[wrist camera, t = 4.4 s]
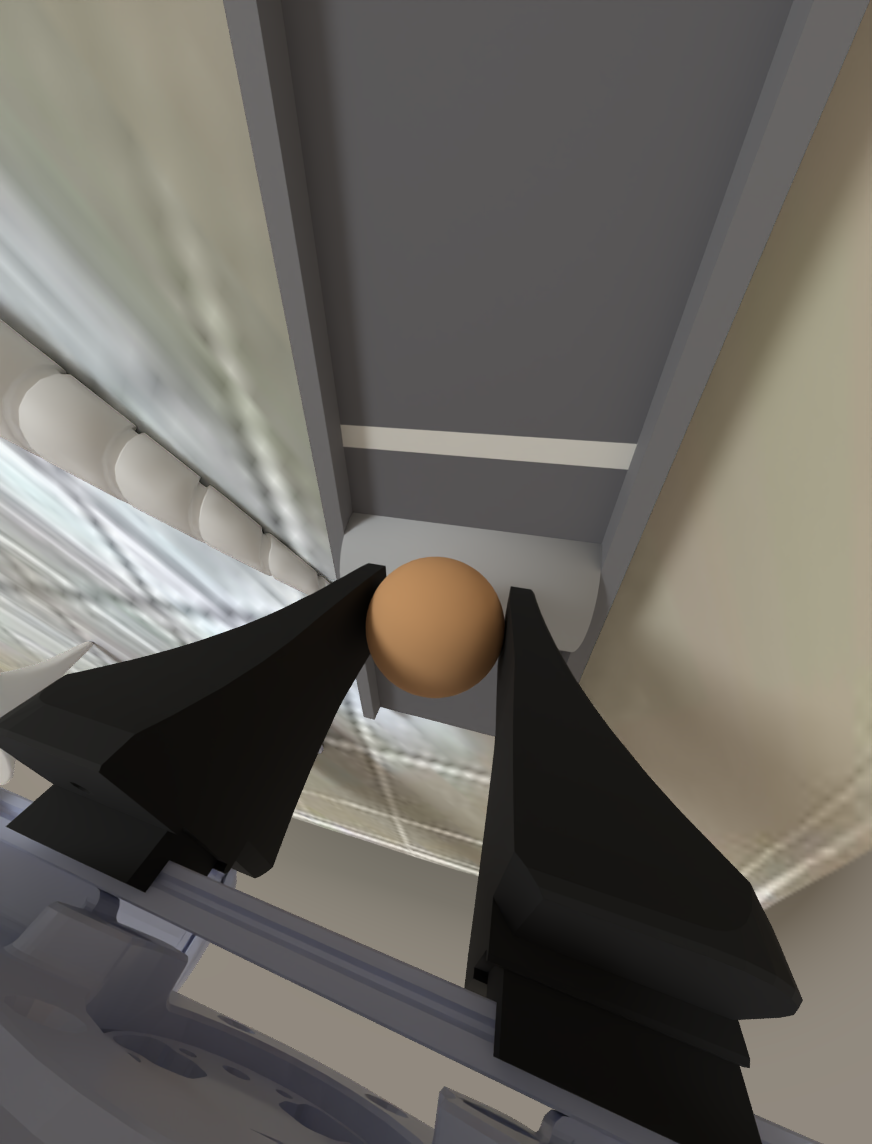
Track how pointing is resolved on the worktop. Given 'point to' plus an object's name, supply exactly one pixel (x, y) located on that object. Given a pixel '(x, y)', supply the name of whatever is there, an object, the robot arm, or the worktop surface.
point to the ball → (435, 627)
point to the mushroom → (31, 690)
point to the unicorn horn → (127, 461)
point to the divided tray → (517, 265)
